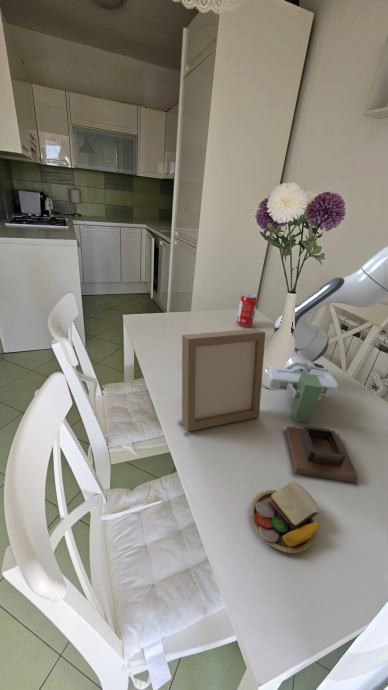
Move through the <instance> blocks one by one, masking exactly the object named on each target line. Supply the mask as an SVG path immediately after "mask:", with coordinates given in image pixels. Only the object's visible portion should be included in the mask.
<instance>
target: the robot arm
mask: <svg viewBox="0 0 388 690" xmlns="http://www.w3.org/2000/svg"><path fill="white" fill-rule="evenodd" d="M386 299H388V245H386V246H385V247H384V248H382V249H381V250H380V251H378V252H377V253H376V254H374V255H373V256H372V257H370V258H369V259H368V260H367V261H366V262H364V264H363V265H362V266H361V267H360V268H358V269H357V270H356V271H354V272H353V273H351V274H349V275H347V276H344V277H335V278H332V279H331V280H329V281H327V282H326V283H325V284H323V285H322V286H320V287H319V288H317V289H316V290H315V291H313V292H312V293H311V294H310V295H308V296H307V297H305V298H304V299H303V300H302V301H300V302H299V303H297V304H296V305H295V306H294V307H295V329H293V328H292V327H293V322H292V327H291V333H292V336H293V337H294V338H295V350H294V355H293V357H291V358H290V359H289V360H288V361H287V362H286V364H285V365H284V368H281V367H278V366H269V367H267V368H265V369H264V371H265V375H266V376H267V379H266V380H267V386H268V387H269V388H270V389H274V390H282V391H286V392H287V393H289V394H290V395H291V396H292V399H293V398H298V397H299V391H298V390H296V387H297V384H298V381H299V378H300V374H301V373H304V374H312V375H317V377H318V379H319V381H320V383H321V385H322V390H321V393H320V396H319V399H318V401H317V402H320V401H321V398H322V396H326V397H335V396H336V395H337V393H338V390H339V384H338V382H337V379H335V377H334V376H333V375H332V374H331V373H330V372H328V371H329V370H328V367H327V366H326V365H322V364H319V363H316V361H318V360H319V359H320V358H321V357H323V356H324V354H326V352H327V351H328V348H329V342H330V340H329V339H330V338H329V334H328V333H327V332H326V331H324V330H323V329H321V328H319V327H318V326H316V325H315V324H313V323H312V322H310V321H308V320H307V318H308V317H310V316H311V315H313V314H314V313H315V312H317V311H318V310H319V309H321V308H323V307H324V306H326V305H328V304H343V305H348V306H351V307H356V308H371V307H375V306H377V305H379V304H381V303H382V302H383V301H385V300H386ZM281 318H282V314H280V315H279V316H278V318H276V320H275V322H274V324H273V331H274V333H275V332H276V331H277V330H278V329H279V325H281V324H280V321H282V320H281Z"/></svg>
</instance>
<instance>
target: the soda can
mask: <svg viewBox="0 0 388 690" xmlns="http://www.w3.org/2000/svg"><path fill="white" fill-rule="evenodd" d="M257 304H258V297H257V295H256V294H255V293H251V292H244V293H243V294H242V295H241V296H240V300H239V306H238V311H237V316H236V323H237V324H238V325H239V326H241V327H243V328H244V327H245V328H246V327H252V325H253V323H254V319H255V314H256V309H257Z"/></svg>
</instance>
